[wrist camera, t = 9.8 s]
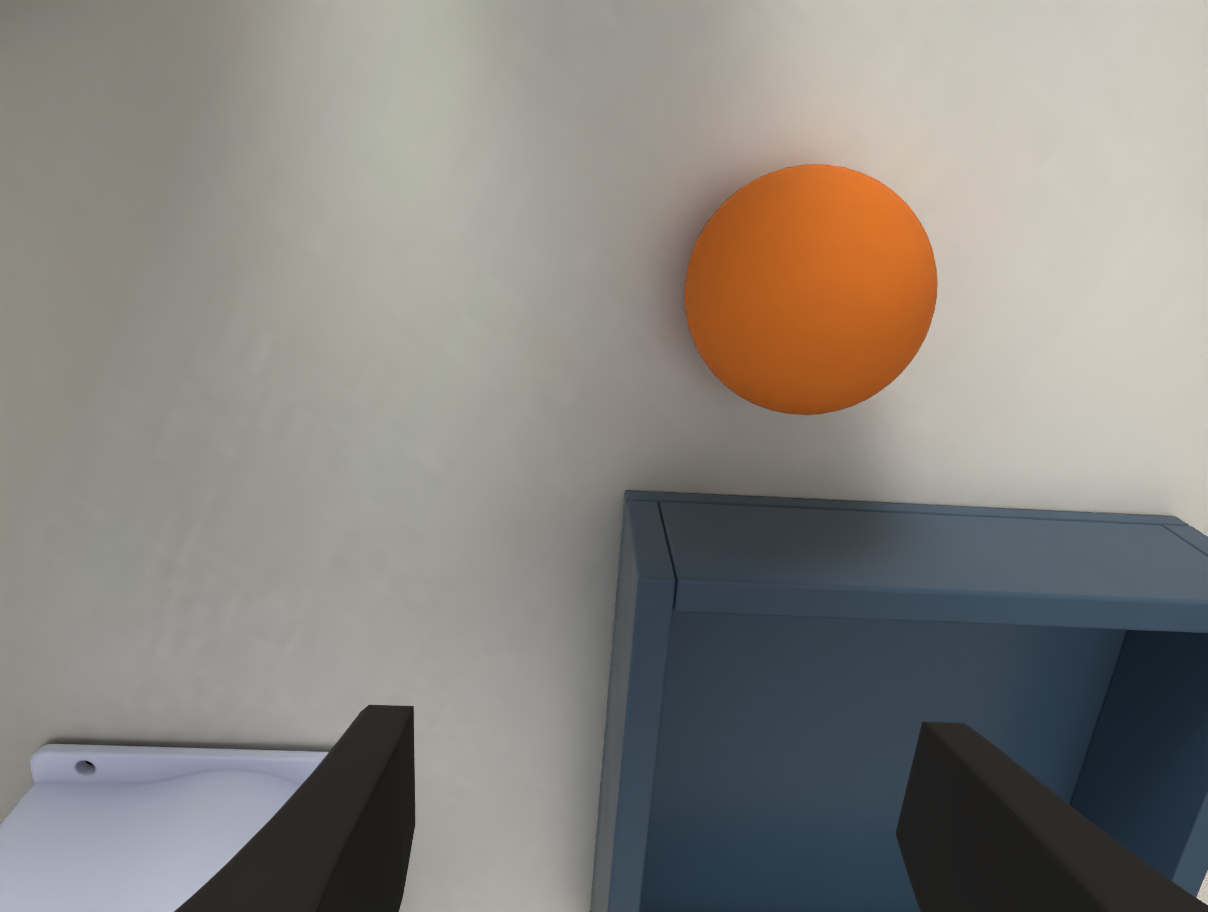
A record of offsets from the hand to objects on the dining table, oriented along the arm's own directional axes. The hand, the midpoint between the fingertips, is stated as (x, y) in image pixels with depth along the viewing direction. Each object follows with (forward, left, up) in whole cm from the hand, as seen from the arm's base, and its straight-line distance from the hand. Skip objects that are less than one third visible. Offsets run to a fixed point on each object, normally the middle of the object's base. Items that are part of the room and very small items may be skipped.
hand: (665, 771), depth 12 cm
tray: (+7, -7, -10) cm, 15 cm away
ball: (+3, +6, -8) cm, 10 cm away
